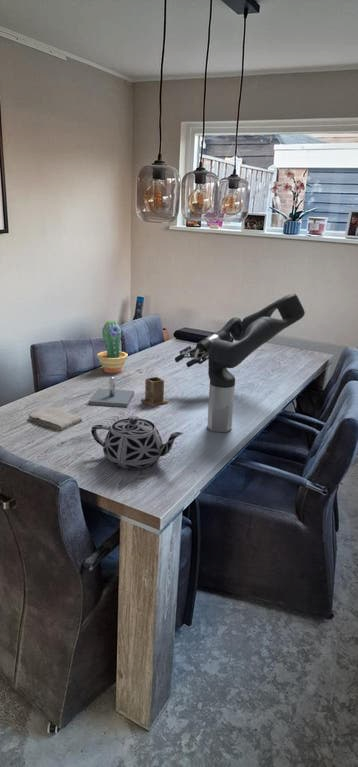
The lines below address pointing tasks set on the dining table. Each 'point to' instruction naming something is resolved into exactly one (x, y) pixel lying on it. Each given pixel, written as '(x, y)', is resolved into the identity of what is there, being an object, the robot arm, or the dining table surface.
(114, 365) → the potted cactus
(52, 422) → the washcloth
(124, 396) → the post plate
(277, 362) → the dining table surface
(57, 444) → the dining table surface
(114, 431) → the teapot
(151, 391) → the flanged sleeve
